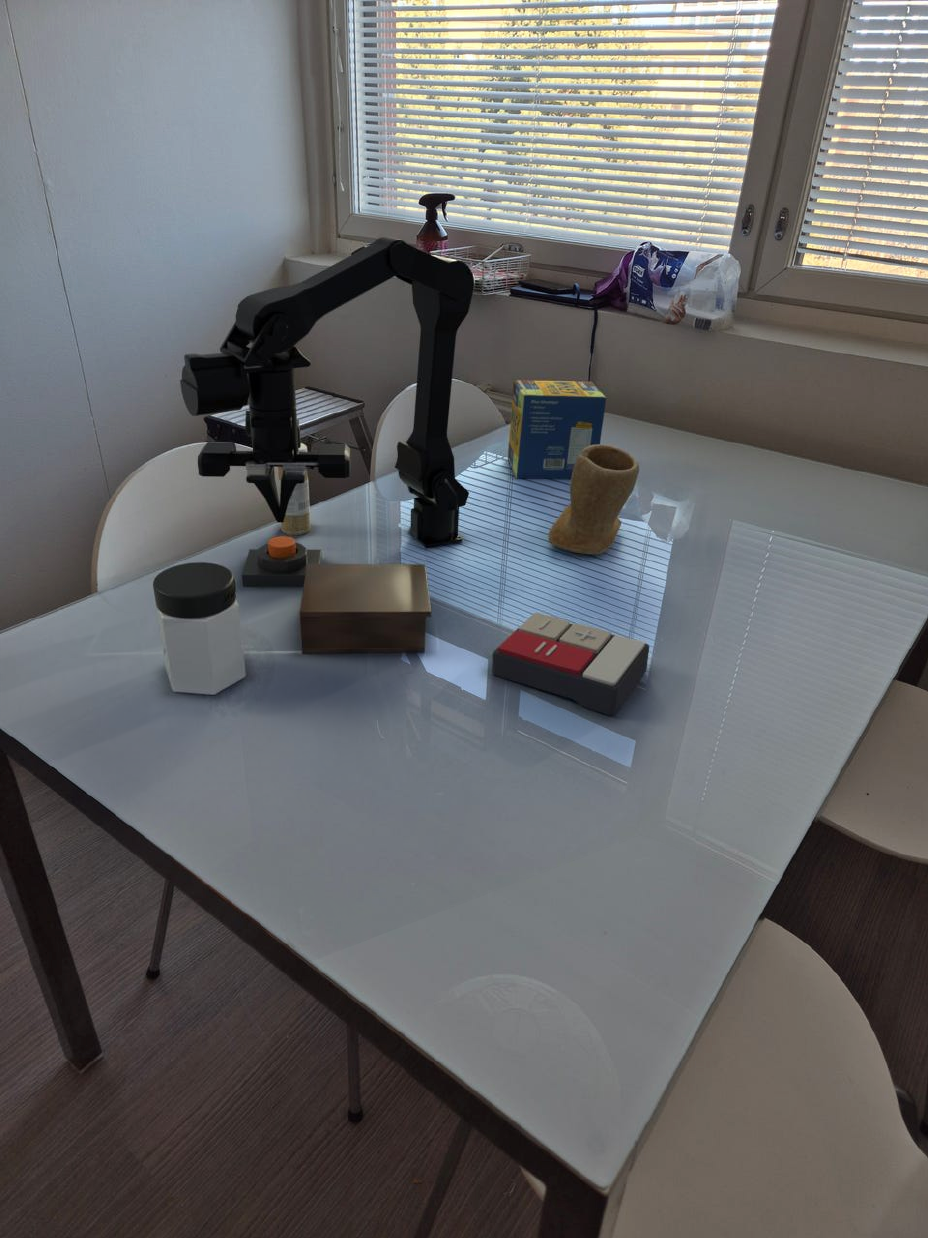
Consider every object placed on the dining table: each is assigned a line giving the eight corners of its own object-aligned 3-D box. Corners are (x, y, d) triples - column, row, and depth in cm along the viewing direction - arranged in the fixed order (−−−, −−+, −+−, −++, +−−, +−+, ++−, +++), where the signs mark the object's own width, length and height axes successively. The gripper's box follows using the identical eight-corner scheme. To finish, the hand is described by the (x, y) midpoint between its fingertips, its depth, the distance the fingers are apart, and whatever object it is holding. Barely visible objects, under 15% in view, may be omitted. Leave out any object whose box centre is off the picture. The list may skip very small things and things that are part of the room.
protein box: (506, 459, 159) (512, 379, 151) (583, 460, 161) (593, 380, 153) (515, 478, 150) (522, 394, 142) (596, 479, 152) (608, 396, 144)
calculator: (533, 607, 101) (651, 638, 94) (532, 638, 103) (647, 670, 96) (491, 646, 92) (617, 683, 86) (490, 679, 94) (613, 717, 88)
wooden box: (419, 602, 108) (420, 568, 106) (424, 652, 97) (425, 617, 95) (309, 602, 106) (307, 568, 104) (301, 653, 96) (299, 617, 93)
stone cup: (616, 567, 120) (631, 470, 112) (538, 551, 124) (549, 455, 116) (637, 530, 132) (652, 440, 125) (566, 516, 136) (577, 427, 128)
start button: (296, 547, 113) (296, 536, 112) (294, 559, 110) (293, 547, 109) (270, 547, 113) (269, 535, 112) (267, 558, 110) (266, 547, 109)
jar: (252, 687, 89) (243, 590, 83) (175, 704, 86) (159, 604, 80) (234, 647, 96) (224, 555, 90) (162, 661, 93) (146, 566, 87)
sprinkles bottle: (301, 522, 128) (297, 438, 122) (316, 532, 126) (312, 447, 119) (275, 528, 126) (269, 443, 119) (290, 539, 123) (284, 452, 116)
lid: (425, 568, 106) (425, 564, 105) (431, 617, 95) (431, 611, 95) (307, 568, 104) (307, 563, 104) (299, 617, 93) (299, 611, 93)
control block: (321, 561, 117) (320, 539, 115) (318, 587, 110) (317, 564, 108) (250, 561, 116) (248, 538, 114) (242, 587, 109) (240, 564, 107)
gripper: (350, 389, 109) (352, 499, 117) (206, 386, 107) (218, 498, 115) (348, 413, 100) (350, 531, 107) (190, 410, 98) (204, 530, 105)
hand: (280, 521), depth 109 cm, fingers closed
